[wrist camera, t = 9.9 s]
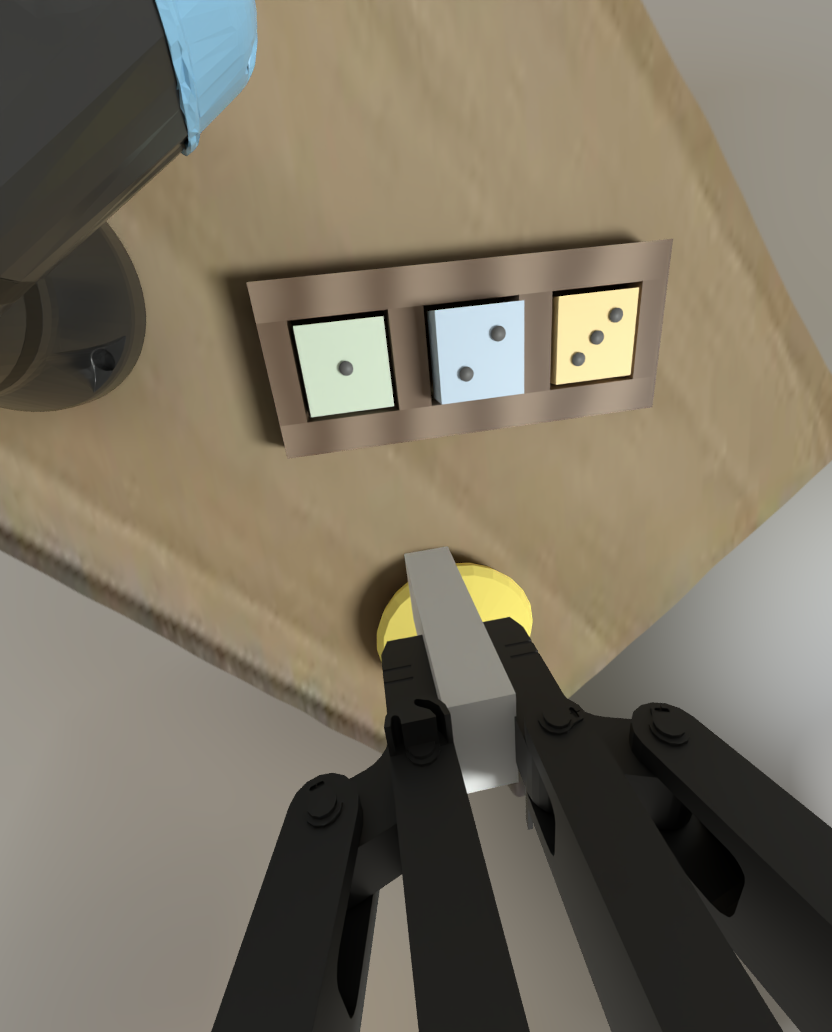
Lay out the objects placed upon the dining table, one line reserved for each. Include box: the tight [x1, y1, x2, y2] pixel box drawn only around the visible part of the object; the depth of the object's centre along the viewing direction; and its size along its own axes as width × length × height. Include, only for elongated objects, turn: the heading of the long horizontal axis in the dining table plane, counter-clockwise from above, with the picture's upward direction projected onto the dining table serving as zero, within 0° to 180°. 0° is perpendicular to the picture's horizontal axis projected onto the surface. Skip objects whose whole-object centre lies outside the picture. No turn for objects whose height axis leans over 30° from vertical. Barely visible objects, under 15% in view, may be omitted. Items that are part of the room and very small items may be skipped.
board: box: [246, 239, 673, 458], centre depth 34 cm, size 30×12×3 cm, turn 96°
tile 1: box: [293, 316, 394, 417], centre depth 33 cm, size 6×6×3 cm
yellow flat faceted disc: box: [377, 563, 533, 662], centre depth 43 cm, size 16×16×7 cm
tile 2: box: [427, 300, 524, 404], centre depth 32 cm, size 6×6×3 cm
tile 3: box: [550, 287, 639, 385], centre depth 34 cm, size 6×6×3 cm
